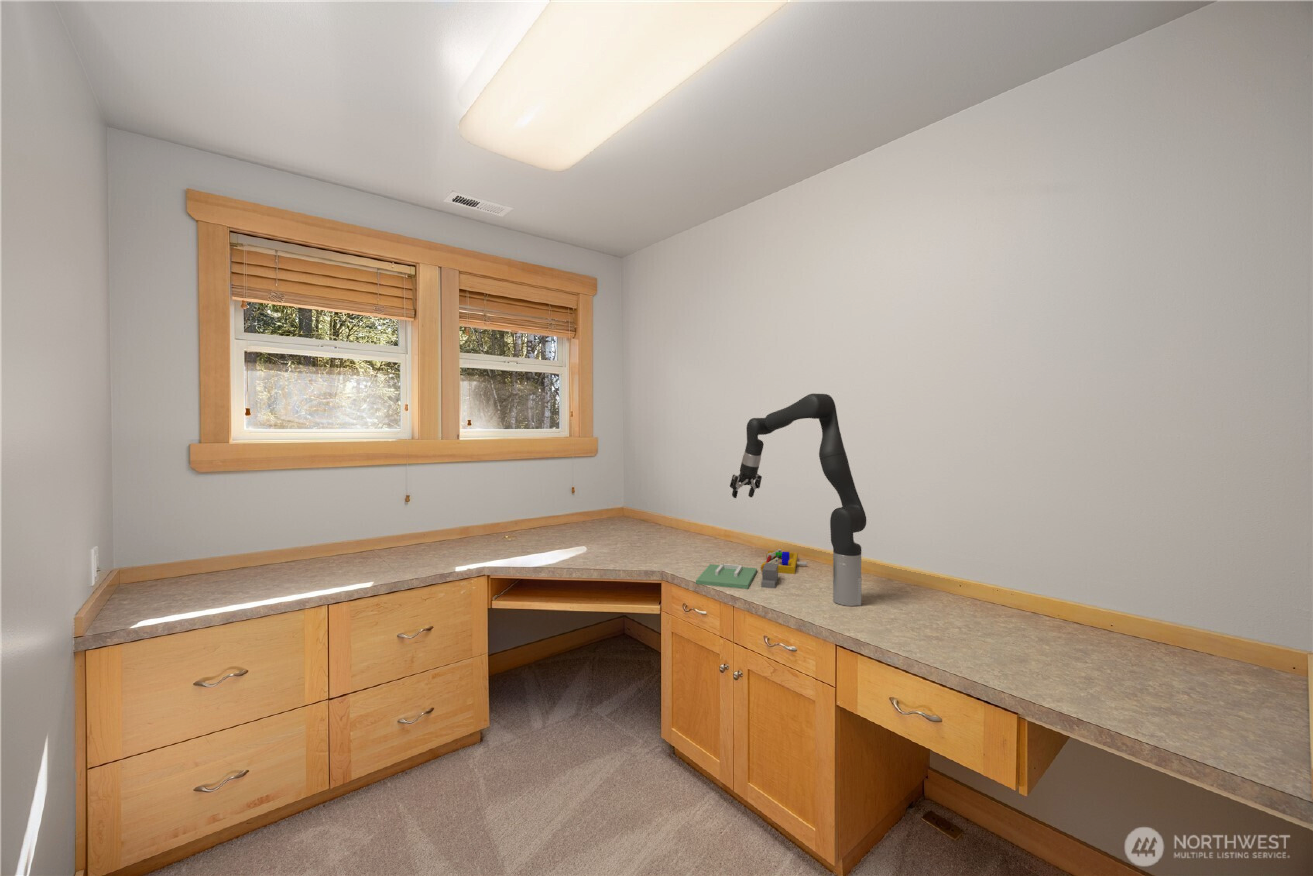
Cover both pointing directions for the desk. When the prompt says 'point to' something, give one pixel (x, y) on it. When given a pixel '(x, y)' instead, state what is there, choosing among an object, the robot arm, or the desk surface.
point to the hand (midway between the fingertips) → (742, 497)
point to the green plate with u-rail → (727, 576)
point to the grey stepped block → (769, 575)
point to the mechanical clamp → (784, 561)
